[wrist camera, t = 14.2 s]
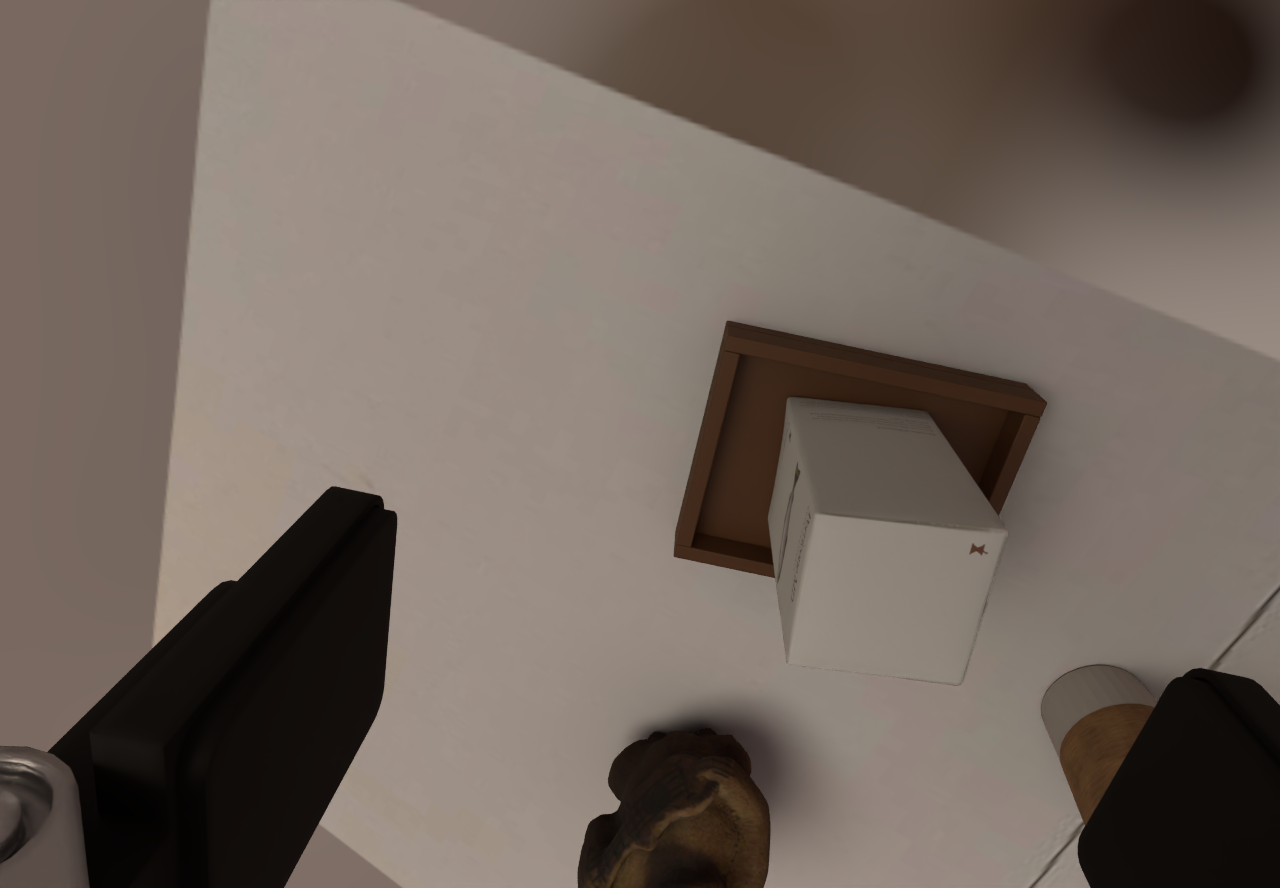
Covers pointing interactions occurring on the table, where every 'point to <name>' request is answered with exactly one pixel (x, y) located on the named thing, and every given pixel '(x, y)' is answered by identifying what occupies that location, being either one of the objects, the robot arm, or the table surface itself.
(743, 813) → the sculpture
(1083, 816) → the coffee cup
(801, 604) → the white packaging box
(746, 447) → the tray
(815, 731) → the table surface
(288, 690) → the robot arm
